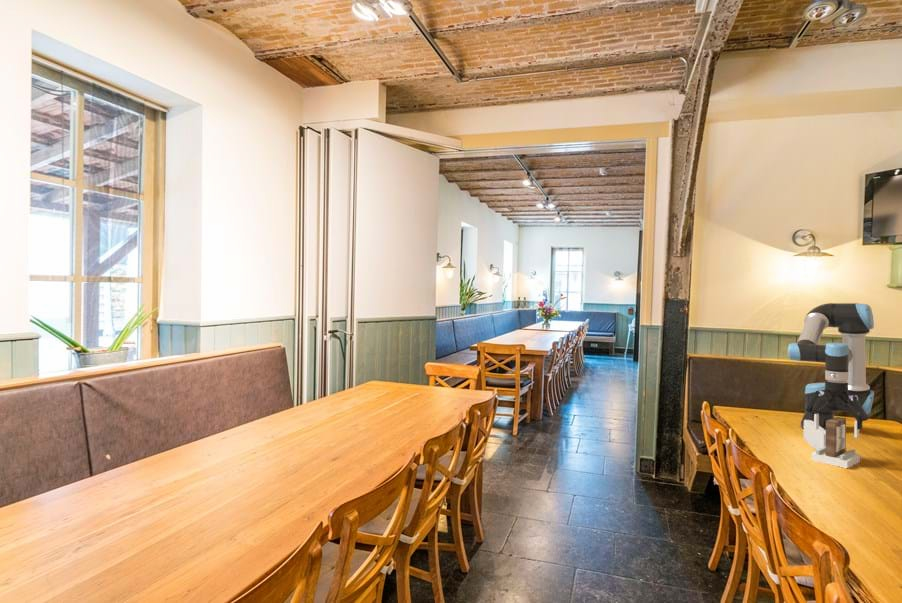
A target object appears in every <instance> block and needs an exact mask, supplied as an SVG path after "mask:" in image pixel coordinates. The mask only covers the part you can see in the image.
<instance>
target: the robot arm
mask: <svg viewBox="0 0 902 603" xmlns="http://www.w3.org/2000/svg"><path fill="white" fill-rule="evenodd" d="M803 321H804V326H803V328H802V331H801V333H800V335H799V337H798V340H797V342H795V343H793V342H791V343H789V344H788V346H787V358H788V359H789V360H791V361H798V362H812V363H824V365H825V367H824V368H825V370H824V371H825V372H824V378H825V381H824V382H812V383H808V384H806V385H805V391H804V396H805V397H804V414H803V416H802V419H801V421H800V428H801V427H802V428H801V429H803V426H804V420H812V421H814V430H817V429H819V426H820V427H822V428H823V429H824V430H826V421H828V420H830V419H833V418H835V415H834V412H836V411H837V412H841V413H842V412H844V413H848V414H849V413H850V415H852V416H853V417H854V419H855V420H854V427H853V428H854V431H853V432H854V436H853V437H854V438H856V439H857V438H859V437H860V430H862V429H863V422H866V421H868V420H869V419H870V418H869V416H868V415H869V414H870V413H871V411H872V406H873V401H874V396H875V391H874V390H871V387H870V385H869V384H867V381H866V380H867V376H866V375H867V373H866V372H867V371H866V370H867V367H866V366H867V365H866V363H867V362H866V361H867V360H866V354H867V353H866V346H867V345H866V336H867V335H868V334H869V333H870V331H871V330H872V329H874V327H875V326H874V325H875V323H874V321H875V320H874V314H873V310H872V307H871V306H870V305H869V304H867V303H858V302H857V303H856V302H854V303H852V302H851V303H850V302H848V303H842V302H841V303H840V302H839V303H835V302H829V303H824V304H820V305H818V306H816V307H814V308H812V309H811V310H810V311H808V312H807V313H806V315H805V317H804V320H803ZM827 328H837V332H838V333H839V334H841V335H842V336H841V337H842V338H841V339H842V340H841V341H842V343H841V342H827V343H826V344H819V343H820V340H821V338H822V335H823V333H824V330H826V329H827Z"/></svg>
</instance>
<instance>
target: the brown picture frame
mask: <svg viewBox="0 0 902 603" xmlns="http://www.w3.org/2000/svg"><path fill="white" fill-rule="evenodd" d="M846 431H847V418H845V417H841V416H840V417H838V416H836V417H834V418H833V419H830V420H828V421H826V452H825V456H829V457H834V458H835V457H837V456H839V455H841V454H843V453H845V452H847V451H846V450H847V448H846V447H847V446H846V443H847V442H846V441H847V440H846V439H847V432H846Z"/></svg>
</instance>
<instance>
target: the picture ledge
mask: <svg viewBox="0 0 902 603" xmlns="http://www.w3.org/2000/svg"><path fill="white" fill-rule="evenodd" d="M825 452H826V446H825V447H822V448H820V449H818V450H815V451H813V452H811V455H810V456H811V457H810V458H811V461H813V462H817V463H820V462H821V463H820V464H825V465H829V464H830V466H833V465H835V466H834V467H837V466H840V467H839V468H841V467H844V468H843V469H845V468H848V469H850V468H852V467H854V466H855V465H857V464H859V463H860V462H861V454H858V453H856V449H851V450H848V451H846V452H845V453H843V454H841V455H839V456H837V457H835V458H834V457H829V456H825ZM858 462H859V463H858ZM856 463H857V464H856ZM854 464H855V465H854ZM853 465H854V466H853ZM851 466H852V467H851ZM849 467H850V468H849Z"/></svg>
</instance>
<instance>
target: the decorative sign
mask: <svg viewBox="0 0 902 603" xmlns="http://www.w3.org/2000/svg"><path fill="white" fill-rule="evenodd" d="M803 428H804V429H803ZM803 428H802V429H803V434H802V435H803V440H804V441H805V440H806V441H807V442H808V443H809V444H808V443H807V442H806V441H805V442H806V443H807V444H808V445H810V446H811V447H812V448H813V449H814V448H815V449H816V450H818V449H820V448H822V447H825V446H826V430H824V429H823V428H822V427H820V426H819V429H817V430H814V421H812V420H804V426H803ZM815 449H814V450H815ZM816 450H815V451H816Z"/></svg>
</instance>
